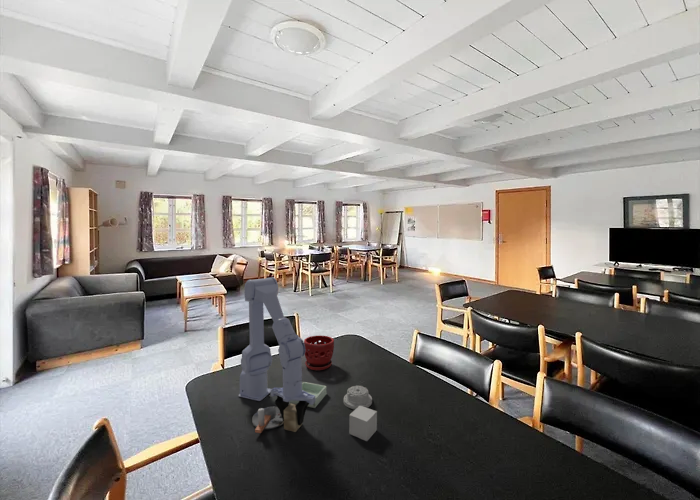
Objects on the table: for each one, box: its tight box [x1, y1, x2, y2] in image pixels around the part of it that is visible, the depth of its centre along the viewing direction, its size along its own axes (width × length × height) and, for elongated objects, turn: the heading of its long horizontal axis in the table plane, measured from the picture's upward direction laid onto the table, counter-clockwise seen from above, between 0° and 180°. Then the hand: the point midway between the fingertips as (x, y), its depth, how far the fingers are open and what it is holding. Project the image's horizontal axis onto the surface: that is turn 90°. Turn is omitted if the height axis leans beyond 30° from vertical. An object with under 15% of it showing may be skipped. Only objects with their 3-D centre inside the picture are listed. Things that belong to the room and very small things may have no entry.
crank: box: [254, 406, 276, 434], centre depth 98 cm, size 11×4×6 cm, turn 172°
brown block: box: [283, 402, 303, 433], centre depth 98 cm, size 4×4×6 cm
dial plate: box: [251, 405, 284, 431], centre depth 102 cm, size 11×11×1 cm
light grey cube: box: [348, 406, 378, 442], centre depth 95 cm, size 6×6×6 cm
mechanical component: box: [343, 384, 373, 410], centre depth 111 cm, size 10×4×10 cm
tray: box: [289, 381, 328, 409], centre depth 114 cm, size 10×10×3 cm
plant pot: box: [303, 335, 335, 371], centre depth 140 cm, size 13×13×12 cm
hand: (293, 421), depth 98 cm, fingers open, 5 cm apart
